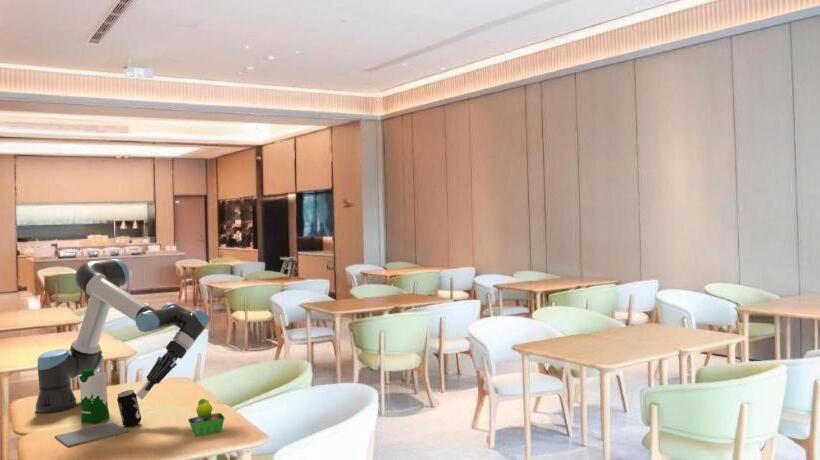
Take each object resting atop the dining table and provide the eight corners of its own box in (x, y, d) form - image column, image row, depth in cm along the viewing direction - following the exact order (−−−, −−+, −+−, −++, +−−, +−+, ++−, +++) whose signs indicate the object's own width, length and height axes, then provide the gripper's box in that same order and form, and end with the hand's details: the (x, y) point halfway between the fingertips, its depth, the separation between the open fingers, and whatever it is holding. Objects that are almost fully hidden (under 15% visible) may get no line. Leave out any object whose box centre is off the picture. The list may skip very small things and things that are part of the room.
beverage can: (135, 426, 250) (128, 395, 248) (119, 428, 251) (112, 397, 249) (145, 419, 256) (138, 388, 254) (129, 420, 257) (123, 390, 256)
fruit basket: (192, 438, 233) (190, 405, 233) (187, 432, 241) (186, 400, 241) (226, 432, 239) (224, 400, 238) (220, 425, 247) (218, 394, 246)
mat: (54, 437, 243) (54, 435, 243) (112, 423, 256) (112, 422, 256) (68, 447, 231) (67, 445, 231) (128, 432, 244) (128, 430, 244)
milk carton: (77, 423, 260) (74, 370, 259) (97, 416, 268) (94, 365, 267) (94, 425, 256) (90, 372, 255) (113, 418, 264) (110, 366, 264)
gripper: (165, 337, 269) (125, 389, 258) (179, 341, 259) (138, 394, 248) (179, 349, 273) (140, 399, 262) (193, 352, 263) (153, 405, 252)
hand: (139, 397), depth 255 cm, fingers closed
